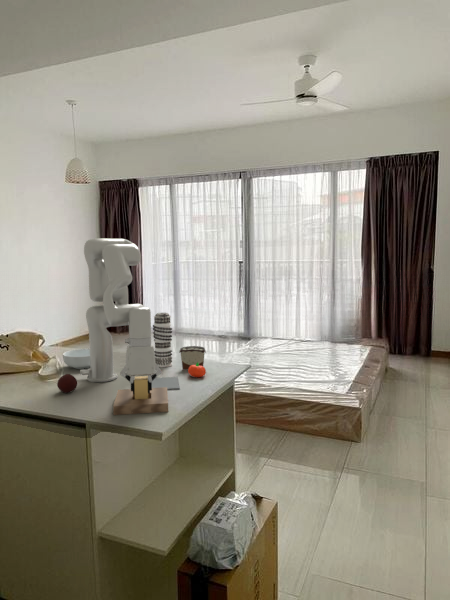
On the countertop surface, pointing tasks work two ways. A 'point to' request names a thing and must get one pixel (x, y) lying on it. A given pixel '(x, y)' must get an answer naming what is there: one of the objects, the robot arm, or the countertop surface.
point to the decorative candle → (162, 339)
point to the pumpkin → (196, 370)
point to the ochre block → (141, 387)
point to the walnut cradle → (141, 402)
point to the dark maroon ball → (67, 383)
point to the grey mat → (166, 383)
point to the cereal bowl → (77, 358)
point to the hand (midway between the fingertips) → (141, 392)
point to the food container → (192, 356)
